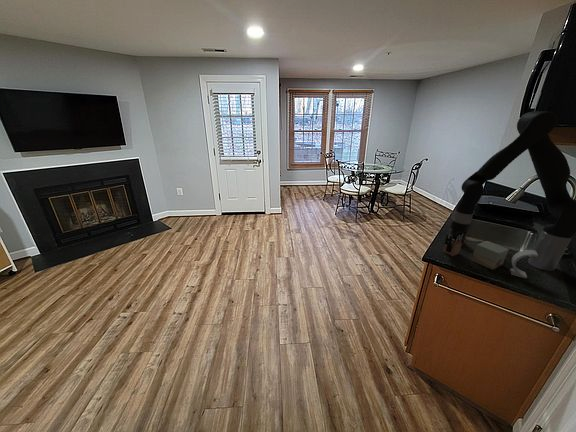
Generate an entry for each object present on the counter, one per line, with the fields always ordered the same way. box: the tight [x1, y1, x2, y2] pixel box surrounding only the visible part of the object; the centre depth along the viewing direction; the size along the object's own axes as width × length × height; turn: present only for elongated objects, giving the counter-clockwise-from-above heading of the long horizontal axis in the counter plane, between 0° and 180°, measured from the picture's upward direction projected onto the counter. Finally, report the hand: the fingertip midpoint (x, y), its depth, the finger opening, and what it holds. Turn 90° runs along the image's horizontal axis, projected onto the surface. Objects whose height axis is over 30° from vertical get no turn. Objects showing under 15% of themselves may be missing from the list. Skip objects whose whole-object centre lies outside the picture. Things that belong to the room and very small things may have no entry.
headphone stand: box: [509, 249, 538, 279], centre depth 104 cm, size 5×6×12 cm
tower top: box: [473, 240, 510, 262], centre depth 112 cm, size 9×9×4 cm
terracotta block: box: [442, 239, 463, 257], centre depth 121 cm, size 5×5×6 cm
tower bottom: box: [470, 252, 506, 270], centre depth 113 cm, size 9×9×4 cm
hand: (451, 250), depth 121 cm, fingers closed on terracotta block, 5 cm apart
